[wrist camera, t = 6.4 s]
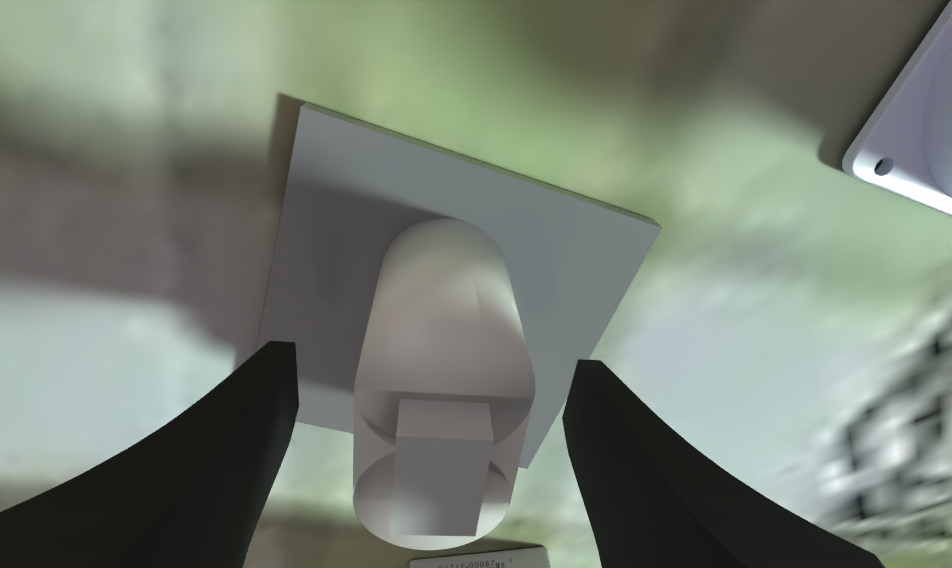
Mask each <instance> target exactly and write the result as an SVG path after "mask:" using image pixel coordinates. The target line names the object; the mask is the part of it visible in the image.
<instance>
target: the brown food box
mask: <svg viewBox="0 0 952 568" xmlns="http://www.w3.org/2000/svg"><path fill="white" fill-rule="evenodd" d="M407 568H551V567H550V562H549V557H548V552H547V549H546V548H545V547H537V548H526V549H517V550H507V551H498V552H488V553H479V554H468V555H458V556H447V557H438V558H427V559H417V560H411V561H410V562H409V563H408V564H407Z"/></svg>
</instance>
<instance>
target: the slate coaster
mask: <svg viewBox="0 0 952 568" xmlns="http://www.w3.org/2000/svg"><path fill="white" fill-rule="evenodd" d="M436 218H452V219H458V220H462V221H466V222H468V223H471V224H473V225H475V226H477V227H479V228H480V229H482V230H483V231H485V232H486V233H487V234H488V235H489V236H490V237H491V238H492V239H493V240H494V241H495V242H496V244H497V245H498V246H499V248H500V250H501V252H502V254H503V257H504V260H505V263H506V267H507V271H508V275H509V279H510V282H511V286H512V290H513V294H514V298H515V302H516V306H517V309H518V313H519V317H520V321H521V325H522V329H523V333H524V336H525V340H526V344H527V348H528V352H529V356H530V360H531V364H532V367H533V371H534V377H535V395H534V401H533V405H532V409H531V414H530V418H529V422H528V427H527V431H526V435H525V440H524V444H523V449H522V453H521V457H520V462H519V466H518V467H521V468H526V469H527V468H528V467H529V465H530V463H531V461H532V459H533V458H534V456H535V454H536V452H537V450H538V449H539V447H540V445H541V443H542V442H543V440H544V438H545V436H546V434H547V433H548V431H549V429H550V427H551V425H552V424H553V422H554V420H555V418H556V416H557V415H558V413H559V411H560V409H561V408H562V406H563V404H564V402H565V400H566V399H567V397H568V395H569V391H570V387H571V383H572V380H573V376H574V372H575V368H576V365H577V361H578V359H583V360H588V359H589V357H590V356H591V354H592V352H593V350H594V348H595V347H596V345H597V343H598V341H599V340H600V338H601V336H602V334H603V332H604V331H605V329H606V327H607V325H608V323H609V322H610V320H611V318H612V316H613V314H614V313H615V311H616V309H617V307H618V306H619V304H620V302H621V300H622V298H623V297H624V295H625V293H626V291H627V289H628V288H629V286H630V284H631V282H632V280H633V279H634V277H635V275H636V273H637V272H638V270H639V268H640V266H641V264H642V263H643V261H644V259H645V257H646V255H647V254H648V252H649V250H650V248H651V246H652V245H653V243H654V241H655V239H656V238H657V236H658V234H659V232H660V230H661V229H662V227H661V226H660V225H659V224H658V223H657V222H656V221H655V220H653V219H650V218H647V217H644V216H641V215H638V214H635V213H632V212H629V211H626V210H623V209H620V208H617V207H614V206H611V205H608V204H605V203H603V202H600V201H597V200H594V199H591V198H588V197H585V196H582V195H579V194H576V193H573V192H570V191H567V190H564V189H561V188H558V187H555V186H552V185H549V184H546V183H543V182H540V181H538V180H535V179H532V178H529V177H526V176H523V175H520V174H517V173H514V172H511V171H508V170H505V169H502V168H499V167H496V166H493V165H490V164H487V163H484V162H481V161H478V160H475V159H472V158H470V157H467V156H464V155H461V154H458V153H455V152H452V151H449V150H446V149H443V148H440V147H437V146H434V145H431V144H428V143H425V142H422V141H419V140H416V139H413V138H410V137H407V136H405V135H402V134H399V133H396V132H393V131H390V130H387V129H384V128H381V127H378V126H375V125H372V124H369V123H366V122H363V121H360V120H357V119H354V118H351V117H348V116H345V115H342V114H340V113H337V112H334V111H331V110H328V109H325V108H322V107H319V106H316V105H313V104H310V103H307V102H306V103H305V104H304V105H302V106H301V108H300V113H299V119H298V124H297V130H296V135H295V141H294V146H293V151H292V157H291V162H290V168H289V173H288V179H287V184H286V189H285V195H284V200H283V206H282V211H281V217H280V222H279V227H278V233H277V238H276V244H275V249H274V255H273V260H272V266H271V271H270V276H269V282H268V287H267V293H266V298H265V304H264V309H263V314H262V320H261V325H260V331H259V336H258V342H257V347H256V352H257V351H258V350H259V349H260V348H262V347H263V346H264V345H265V344H266V343H268V342H269V341H283V342H295V345H296V361H297V377H298V394H299V409H298V413H297V417H296V421H295V422H300V423H305V424H310V425H315V426H320V427H325V428H330V429H334V430H339V431H344V432H349V433H354V385H355V377H356V373H357V369H358V364H359V360H360V356H361V351H362V347H363V343H364V338H365V334H366V330H367V326H368V321H369V317H370V313H371V308H372V304H373V300H374V295H375V291H376V287H377V282H378V278H379V274H380V269H381V265H382V261H383V258H384V255H385V253H386V251H387V249H388V247H389V246H390V244H391V243H392V242H393V240H394V239H395V238H396V237H397V236H398V235H399V234H400V233H401V232H403V231H404V230H406V229H407V228H409V227H411V226H412V225H414V224H416V223H419V222H422V221H425V220H430V219H436ZM256 352H255V353H256Z"/></svg>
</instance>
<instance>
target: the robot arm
mask: <svg viewBox="0 0 952 568" xmlns="http://www.w3.org/2000/svg"><path fill="white" fill-rule="evenodd" d="M881 159H883V162H882V164H881V166H880V167H879V168H878V169H877V170H875V171H874V168H875V166H876V164H877V163H878V162H879V161H880V160H881ZM842 167H843V170H844V172H846V173H847V174H848V175H851V176H853V177H856V178H858V179H861V180H863V181H866V182H868V183H871V184H873V185H876V186H878V187H881V188H883V189H886V190H888V191H891V192H893V193H896V194H898V195H901V196H903V197H906V198H908V199H911V200H913V201H916V202H918V203H921V204H923V205H926V206H928V207H931V208H933V209H936V210H938V211H941V212H943V213H946V214H949V215H951V216H952V0H950V2H949V3H948V5H947V6H946V7H945V9H944V10H943V12H942V13H941V15H940V16H939V18H938V19H937V21H936V22H935V23H934V25H933V26H932V28H931V29H930V31H929V32H928V34H927V35H926V37H925V38H924V39H923V41H922V42H921V44H920V45H919V47H918V48H917V50H916V51H915V53H914V54H913V55H912V57H911V58H910V60H909V61H908V63H907V64H906V66H905V67H904V69H903V70H902V71H901V73H900V74H899V76H898V77H897V79H896V80H895V82H894V83H893V85H892V86H891V87H890V89H889V90H888V92H887V93H886V95H885V96H884V98H883V99H882V101H881V102H880V103H879V105H878V106H877V108H876V109H875V111H874V112H873V114H872V115H871V117H870V118H869V119H868V121H867V122H866V124H865V125H864V127H863V128H862V130H861V131H860V133H859V134H858V135H857V137H856V138H855V140H854V141H853V143H852V144H851V146H850V147H849V149H848V150H847V151H846V153H845V155H844V157H843V161H842ZM298 409H299V394H298V377H297V361H296V345H295V342H283V341H269V342H268V343H266V344H265V345H264V346H263V347H262V348H260V349H259V350H258V351H257V352H256V353H255V354H254V355H252V356H251V357H250V358H249V359H248V360H247V361H246V362H244V363H243V364H242V365H241V366H240V367H239V368H238V369H236V370H235V371H234V372H233V373H232V374H231V375H229V376H228V377H227V378H226V379H225V380H223V381H222V382H221V383H220V384H219V385H217V386H216V387H215V388H214V389H212V390H211V391H210V392H209V393H208V394H206V395H205V396H204V397H203V398H201V399H200V400H199V401H197V402H196V403H195V404H193V405H192V406H191V407H189V408H188V409H187V410H185V411H184V412H183V413H181V414H180V415H179V416H177V417H176V418H174V419H173V420H172V421H170V422H169V423H167V424H166V425H164V426H163V427H161V428H160V429H158V430H157V431H155V432H154V433H152V434H150V435H149V436H147V437H146V438H144V439H142V440H141V441H139V442H138V443H136V444H134V445H133V446H131V447H129V448H128V449H126V450H124V451H122V452H121V453H119V454H117V455H115V456H113V457H112V458H110V459H108V460H106V461H104V462H103V463H101V464H99V465H97V466H95V467H93V468H92V469H90V470H88V471H86V472H84V473H83V474H81V475H79V476H77V477H75V478H73V479H71V480H69V481H67V482H65V483H63V484H61V485H59V486H57V487H55V488H52V489H50V490H48V491H46V492H44V493H42V494H40V495H37V496H35V497H33V498H31V499H29V500H27V501H25V502H22V503H20V504H18V505H15V506H13V507H11V508H9V509H6V510H4V511H2V512H0V568H243V565H244V561H245V558H246V554H247V551H248V548H249V544H250V542H251V539H252V536H253V533H254V530H255V528H256V525H257V522H258V520H259V518H260V515H261V513H262V510H263V508H264V505H265V503H266V500H267V498H268V495H269V493H270V490H271V488H272V486H273V483H274V481H275V478H276V476H277V473H278V471H279V468H280V466H281V463H282V461H283V458H284V456H285V453H286V451H287V448H288V445H289V443H290V439H291V436H292V432H293V428H294V425H295V421H296V417H297V413H298ZM562 419H563V425H564V431H565V438H566V443H567V448H568V453H569V457H570V460H571V463H572V467H573V470H574V473H575V476H576V479H577V483H578V486H579V489H580V492H581V495H582V498H583V501H584V505H585V508H586V511H587V514H588V517H589V520H590V523H591V527H592V530H593V533H594V536H595V540H596V544H597V547H598V551H599V556H600V561H601V565H602V568H885V567H884V565H883V564H882V563H881V562H880V560H879V559H878V558H877V557H876V556H875V554H873V553H871V552H869V551H867V550H865V549H862V548H860V547H858V546H856V545H854V544H852V543H850V542H848V541H846V540H844V539H842V538H840V537H838V536H836V535H834V534H832V533H830V532H828V531H826V530H823V529H821V528H820V527H818V526H816V525H814V524H812V523H810V522H808V521H807V520H805V519H803V518H801V517H799V516H798V515H796V514H794V513H792V512H790V511H789V510H787V509H785V508H783V507H782V506H780V505H778V504H776V503H775V502H773V501H771V500H770V499H768V498H766V497H765V496H763V495H762V494H760V493H758V492H757V491H755V490H754V489H752V488H751V487H749V486H748V485H746V484H745V483H743V482H741V481H740V480H738V479H737V478H735V477H734V476H732V475H731V474H730V473H728V472H727V471H725V470H724V469H722V468H721V467H720V466H718V465H717V464H716V463H714V462H713V461H712V460H710V459H709V458H708V457H706V456H705V455H704V454H702V453H701V452H700V451H698V450H697V449H696V448H694V447H693V446H692V445H691V444H689V443H688V442H687V441H686V440H685V439H683V438H682V437H681V436H680V435H679V434H678V433H676V432H675V431H674V430H673V429H672V428H671V427H669V426H668V425H667V424H666V423H665V422H664V421H663V420H662V419H661V418H659V417H658V416H657V415H656V414H655V413H654V412H653V411H652V410H651V409H650V408H649V407H648V406H647V405H646V404H644V403H643V402H642V401H641V400H640V399H639V398H638V397H637V396H636V395H635V394H634V393H633V392H632V391H631V390H630V389H629V388H628V387H627V386H626V385H625V384H624V383H623V382H622V381H621V380H620V379H619V378H618V377H617V376H616V375H615V374H614V373H613V372H612V371H611V370H610V369H609V368H608V367H607V366H606V365H605V364H604V363H603V362H601V361H600V360H583V359H578V361H577V365H576V368H575V372H574V376H573V380H572V383H571V387H570V391H569V395H568V398H567V402H566V406H565V410H564V413H563V417H562Z"/></svg>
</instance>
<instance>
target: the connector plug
mask: <svg viewBox="0 0 952 568" xmlns="http://www.w3.org/2000/svg"><path fill="white" fill-rule="evenodd" d="M534 395H535V377H534V371H533V367H532V364H531V360H530V356H529V352H528V348H527V344H526V340H525V336H524V333H523V329H522V325H521V321H520V317H519V313H518V309H517V306H516V302H515V298H514V294H513V290H512V286H511V282H510V279H509V275H508V271H507V267H506V263H505V260H504V257H503V254H502V252H501V250H500V248H499V246H498V245H497V244H496V242H495V241H494V240H493V239H492V238H491V237H490V236H489V235H488V234H487V233H486V232H485V231H483V230H482V229H480V228H479V227H477V226H475V225H473V224H471V223H468V222H466V221H462V220H458V219H452V218H436V219H430V220H425V221H422V222H419V223H416V224H414V225H412V226H411V227H409V228H407V229H406V230H404V231H403V232H401V233H400V234H399V235H398V236H397V237H396V238H395V239H394V240H393V242H392V243H391V244H390V246H389V247H388V249H387V251H386V253H385V255H384V258H383V261H382V265H381V269H380V274H379V278H378V282H377V287H376V291H375V295H374V300H373V304H372V308H371V313H370V317H369V321H368V326H367V330H366V334H365V338H364V343H363V347H362V351H361V356H360V360H359V364H358V369H357V373H356V377H355V385H354V450H353V505H354V509H355V512H356V515H357V517H358V518H359V520H360V521H361V523H362V524H363V525H364V526H365V527H366V528H367V529H368V530H369V531H370V532H371V533H373V534H374V535H375V536H377V537H379V538H380V539H382V540H384V541H386V542H388V543H391V544H394V545H397V546H400V547H404V548H409V549H416V550H441V549H449V548H454V547H458V546H462V545H465V544H468V543H470V542H473V541H475V540H477V539H479V538H481V537H483V536H484V535H486V534H487V533H489V532H490V531H491V530H493V529H494V528H495V527H496V526H497V525H498V524H499V523H500V522H501V520H502V519H503V518H504V516H505V514H506V512H507V510H508V508H509V505H510V501H511V496H512V492H513V488H514V483H515V479H516V475H517V470H518V466H519V462H520V457H521V453H522V449H523V444H524V440H525V435H526V431H527V427H528V422H529V418H530V414H531V409H532V405H533V401H534Z"/></svg>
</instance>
